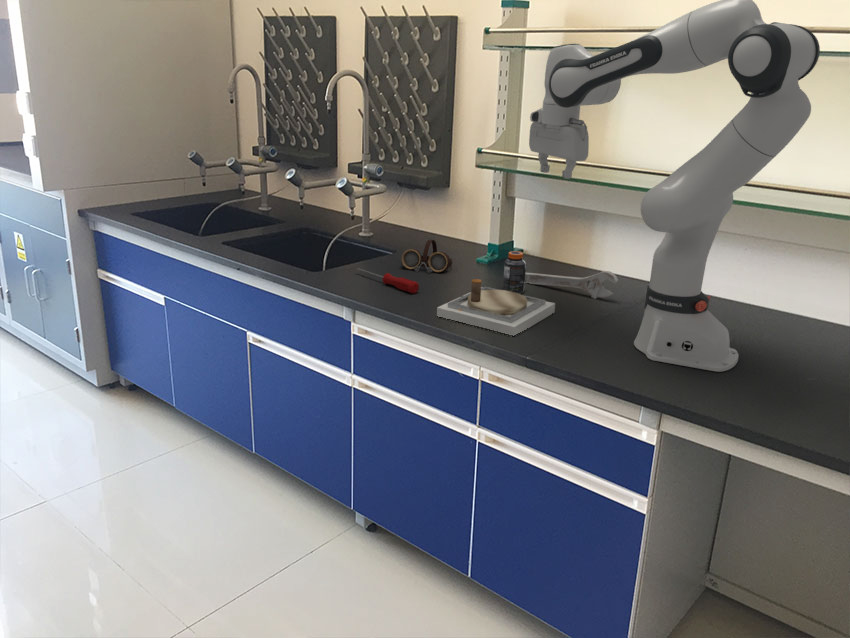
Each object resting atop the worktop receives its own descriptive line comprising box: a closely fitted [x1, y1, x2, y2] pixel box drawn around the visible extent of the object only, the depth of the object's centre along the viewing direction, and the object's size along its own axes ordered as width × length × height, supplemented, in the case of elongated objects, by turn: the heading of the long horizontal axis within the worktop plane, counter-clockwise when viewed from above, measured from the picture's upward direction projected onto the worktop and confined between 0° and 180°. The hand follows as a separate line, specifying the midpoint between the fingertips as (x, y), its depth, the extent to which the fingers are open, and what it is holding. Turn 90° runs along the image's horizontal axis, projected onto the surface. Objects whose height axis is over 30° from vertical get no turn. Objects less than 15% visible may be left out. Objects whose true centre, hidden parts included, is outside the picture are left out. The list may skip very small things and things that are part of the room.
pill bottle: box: [502, 250, 527, 294], centre depth 201 cm, size 6×6×11 cm
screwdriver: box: [357, 268, 420, 295], centre depth 206 cm, size 4×25×4 cm, turn 45°
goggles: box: [401, 239, 453, 274], centre depth 223 cm, size 15×13×10 cm
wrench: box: [525, 270, 619, 300], centre depth 203 cm, size 8×2×30 cm
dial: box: [468, 278, 527, 314], centre depth 182 cm, size 15×15×7 cm
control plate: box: [436, 286, 556, 336], centre depth 183 cm, size 22×22×4 cm
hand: (555, 175), depth 176 cm, fingers open, 8 cm apart
